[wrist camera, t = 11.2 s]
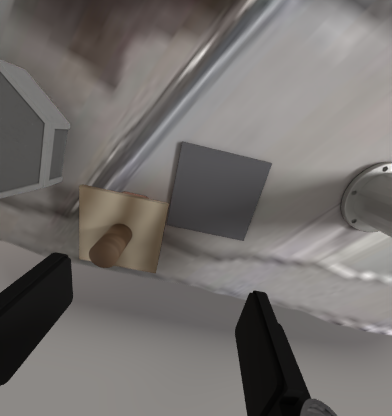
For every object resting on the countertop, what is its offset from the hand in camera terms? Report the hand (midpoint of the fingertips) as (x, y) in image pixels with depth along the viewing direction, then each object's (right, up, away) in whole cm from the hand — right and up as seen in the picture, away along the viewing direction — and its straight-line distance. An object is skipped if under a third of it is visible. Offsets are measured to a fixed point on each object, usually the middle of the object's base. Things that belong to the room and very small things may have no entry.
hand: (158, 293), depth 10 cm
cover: (-10, +1, +21) cm, 23 cm away
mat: (+5, +7, +23) cm, 25 cm away
